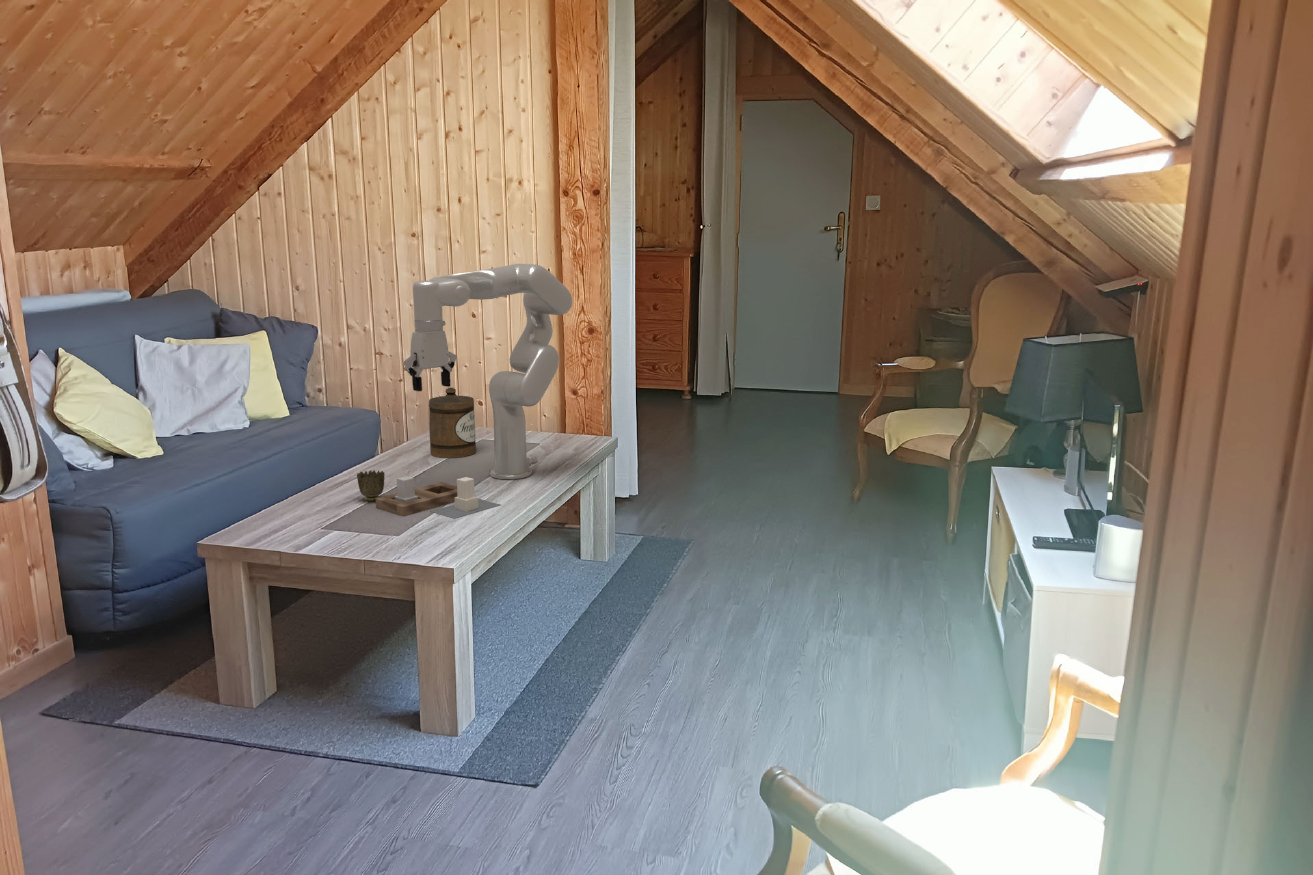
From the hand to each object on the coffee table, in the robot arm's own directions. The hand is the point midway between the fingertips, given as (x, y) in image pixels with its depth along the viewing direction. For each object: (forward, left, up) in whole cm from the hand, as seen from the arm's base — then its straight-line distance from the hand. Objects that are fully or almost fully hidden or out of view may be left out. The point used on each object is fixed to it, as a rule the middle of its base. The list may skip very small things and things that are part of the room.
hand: (432, 388), depth 274 cm
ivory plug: (+5, +19, -30) cm, 36 cm away
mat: (+5, +19, -30) cm, 36 cm away
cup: (+16, -8, -31) cm, 35 cm away
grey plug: (+14, +6, -30) cm, 34 cm away
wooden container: (-35, -36, -31) cm, 59 cm away
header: (+9, +6, -30) cm, 32 cm away
